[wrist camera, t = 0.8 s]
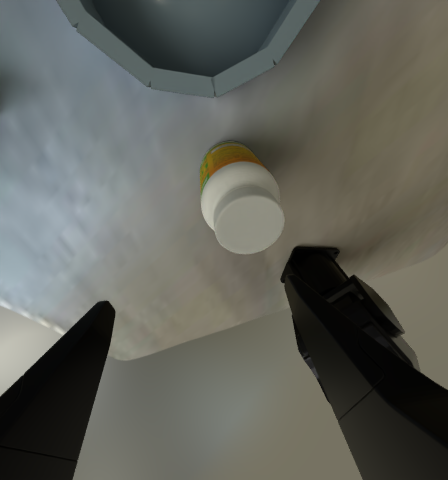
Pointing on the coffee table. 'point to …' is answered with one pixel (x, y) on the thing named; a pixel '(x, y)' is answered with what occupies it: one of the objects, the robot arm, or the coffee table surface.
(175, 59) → the slate bowl
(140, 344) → the coffee table surface
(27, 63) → the coffee table surface
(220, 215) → the supplement bottle
